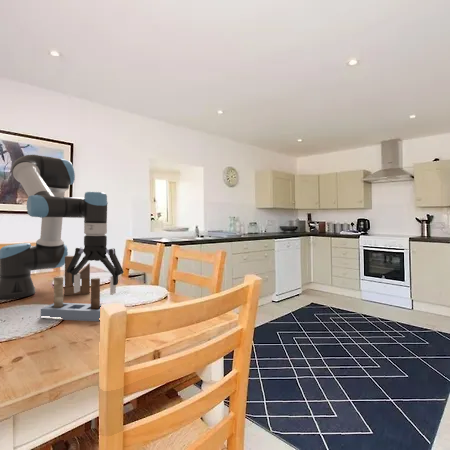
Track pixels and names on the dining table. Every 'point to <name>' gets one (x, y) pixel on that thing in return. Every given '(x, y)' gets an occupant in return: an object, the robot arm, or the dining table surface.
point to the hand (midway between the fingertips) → (94, 293)
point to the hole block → (72, 312)
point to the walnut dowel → (95, 293)
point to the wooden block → (83, 276)
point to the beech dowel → (58, 292)
